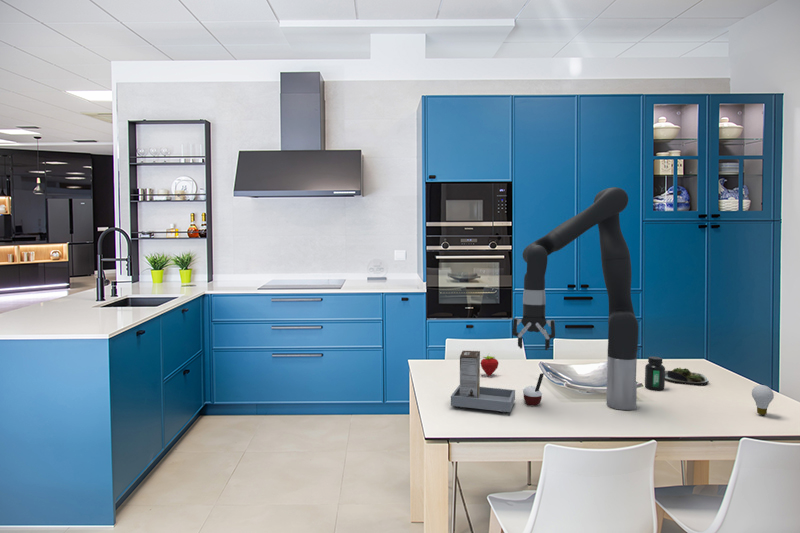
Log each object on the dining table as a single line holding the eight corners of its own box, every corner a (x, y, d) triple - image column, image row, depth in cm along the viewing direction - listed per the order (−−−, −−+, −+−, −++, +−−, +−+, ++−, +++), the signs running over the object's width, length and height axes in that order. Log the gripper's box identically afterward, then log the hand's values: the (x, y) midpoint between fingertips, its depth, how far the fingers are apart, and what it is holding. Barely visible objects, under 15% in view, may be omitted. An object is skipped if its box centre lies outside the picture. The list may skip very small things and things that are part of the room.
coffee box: (461, 394, 184) (462, 349, 183) (479, 395, 182) (480, 350, 181) (459, 402, 175) (459, 355, 174) (478, 403, 173) (478, 356, 172)
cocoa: (520, 401, 183) (519, 368, 182) (537, 400, 183) (536, 367, 183) (528, 409, 173) (527, 374, 173) (546, 408, 174) (545, 373, 173)
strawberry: (500, 377, 211) (500, 354, 211) (482, 378, 211) (482, 354, 210) (496, 373, 217) (496, 350, 217) (479, 374, 217) (479, 351, 216)
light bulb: (751, 411, 171) (752, 381, 171) (773, 414, 168) (774, 385, 167) (749, 415, 167) (751, 385, 166) (772, 419, 163) (773, 389, 163)
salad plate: (656, 371, 223) (656, 360, 223) (703, 375, 216) (703, 364, 216) (659, 382, 205) (659, 371, 205) (710, 388, 198) (711, 376, 198)
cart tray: (515, 402, 180) (515, 389, 180) (510, 415, 167) (510, 402, 167) (459, 396, 187) (459, 384, 187) (450, 409, 174) (450, 396, 173)
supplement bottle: (659, 392, 192) (660, 360, 191) (641, 388, 197) (642, 357, 196) (667, 388, 196) (668, 358, 195) (649, 384, 201) (650, 354, 201)
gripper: (556, 302, 177) (555, 348, 178) (514, 300, 182) (513, 345, 183) (555, 304, 170) (554, 352, 171) (511, 303, 175) (511, 349, 176)
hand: (533, 348), depth 177 cm, fingers open, 8 cm apart
